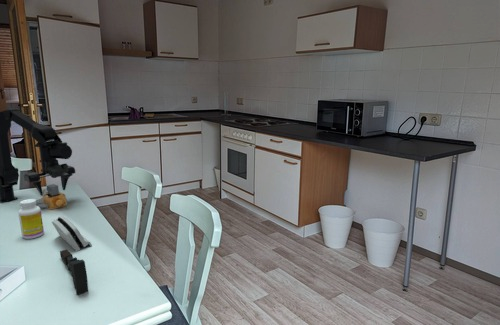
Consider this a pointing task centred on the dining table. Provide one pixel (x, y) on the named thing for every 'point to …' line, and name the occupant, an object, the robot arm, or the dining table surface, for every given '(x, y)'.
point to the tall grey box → (52, 190)
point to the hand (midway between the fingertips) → (53, 192)
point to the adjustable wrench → (76, 271)
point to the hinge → (70, 233)
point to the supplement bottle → (30, 219)
